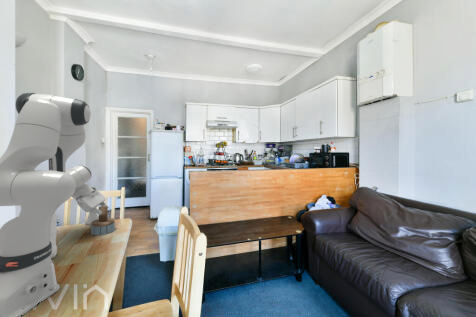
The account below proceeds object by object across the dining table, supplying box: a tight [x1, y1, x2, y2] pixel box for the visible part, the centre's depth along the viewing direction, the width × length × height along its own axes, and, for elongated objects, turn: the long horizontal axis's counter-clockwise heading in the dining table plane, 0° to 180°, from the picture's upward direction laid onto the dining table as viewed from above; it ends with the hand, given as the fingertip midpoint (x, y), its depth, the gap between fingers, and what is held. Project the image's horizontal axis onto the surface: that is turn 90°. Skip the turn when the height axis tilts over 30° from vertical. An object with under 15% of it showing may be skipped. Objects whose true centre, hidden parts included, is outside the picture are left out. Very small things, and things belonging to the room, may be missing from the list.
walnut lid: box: [90, 205, 116, 227], centre depth 112 cm, size 11×11×9 cm
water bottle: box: [50, 212, 58, 259], centre depth 82 cm, size 7×7×25 cm
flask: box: [85, 211, 99, 226], centre depth 124 cm, size 7×7×10 cm
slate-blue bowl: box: [90, 221, 116, 236], centre depth 112 cm, size 11×11×4 cm
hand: (104, 211), depth 112 cm, fingers open, 8 cm apart
